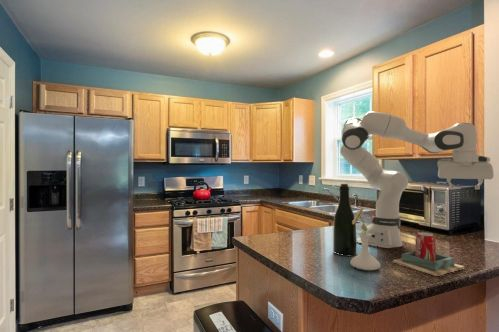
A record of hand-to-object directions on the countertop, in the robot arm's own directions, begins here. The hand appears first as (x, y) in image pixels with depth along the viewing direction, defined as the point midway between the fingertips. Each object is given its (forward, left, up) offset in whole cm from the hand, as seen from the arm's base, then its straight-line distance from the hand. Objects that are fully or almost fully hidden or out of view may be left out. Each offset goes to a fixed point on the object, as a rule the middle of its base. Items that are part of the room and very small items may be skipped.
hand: (464, 188), depth 130 cm
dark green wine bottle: (-50, -18, -31) cm, 62 cm away
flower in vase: (-40, -36, -31) cm, 62 cm away
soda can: (-18, -23, -30) cm, 41 cm away
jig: (-17, -22, -31) cm, 42 cm away
